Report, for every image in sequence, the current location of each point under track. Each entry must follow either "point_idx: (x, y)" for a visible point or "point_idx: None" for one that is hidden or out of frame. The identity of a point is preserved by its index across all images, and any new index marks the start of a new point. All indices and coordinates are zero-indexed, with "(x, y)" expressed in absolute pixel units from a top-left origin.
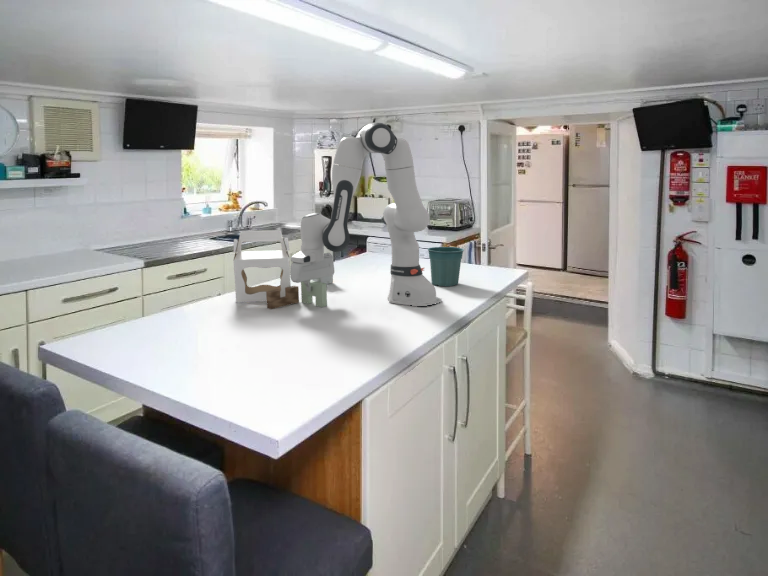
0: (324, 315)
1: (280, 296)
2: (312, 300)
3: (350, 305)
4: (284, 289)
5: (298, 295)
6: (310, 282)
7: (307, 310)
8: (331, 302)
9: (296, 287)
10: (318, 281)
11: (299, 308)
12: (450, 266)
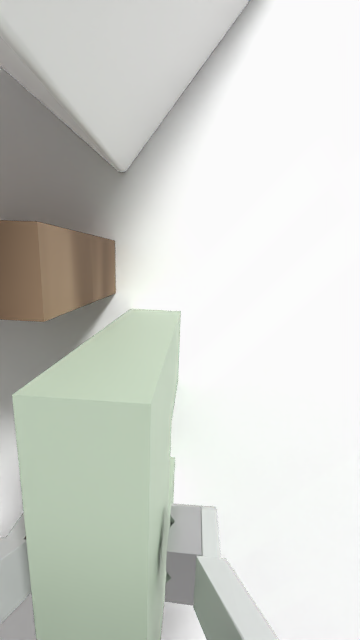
0: (20, 611)
1: (24, 85)
2: (176, 388)
3: (275, 604)
4: (13, 66)
5: (90, 301)
6: (35, 625)
7: (17, 486)
8: (266, 477)
9: (11, 318)
10: (224, 627)
11: (10, 417)
12: None
